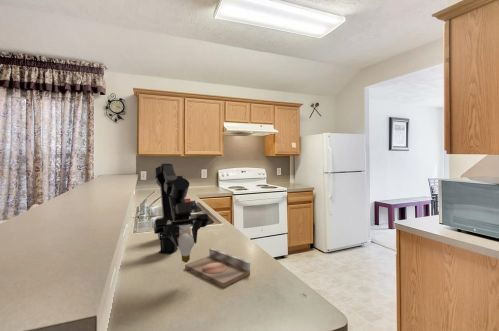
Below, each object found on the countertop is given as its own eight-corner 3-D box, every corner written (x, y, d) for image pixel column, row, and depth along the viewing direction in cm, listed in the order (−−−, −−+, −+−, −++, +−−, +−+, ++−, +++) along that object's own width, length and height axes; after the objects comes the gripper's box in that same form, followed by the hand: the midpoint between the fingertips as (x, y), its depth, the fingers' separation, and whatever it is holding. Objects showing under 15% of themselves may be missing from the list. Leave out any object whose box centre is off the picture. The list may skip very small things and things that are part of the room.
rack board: (185, 268, 99) (184, 257, 99) (211, 258, 109) (211, 248, 109) (223, 287, 84) (223, 274, 84) (250, 274, 94) (250, 262, 94)
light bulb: (178, 259, 91) (178, 231, 91) (195, 258, 92) (195, 230, 92) (175, 266, 86) (175, 236, 85) (193, 265, 86) (193, 235, 86)
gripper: (154, 195, 87) (160, 237, 78) (207, 191, 96) (218, 228, 86) (151, 213, 94) (156, 253, 85) (201, 208, 103) (210, 244, 94)
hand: (186, 244), depth 87 cm, fingers closed on light bulb, 6 cm apart
